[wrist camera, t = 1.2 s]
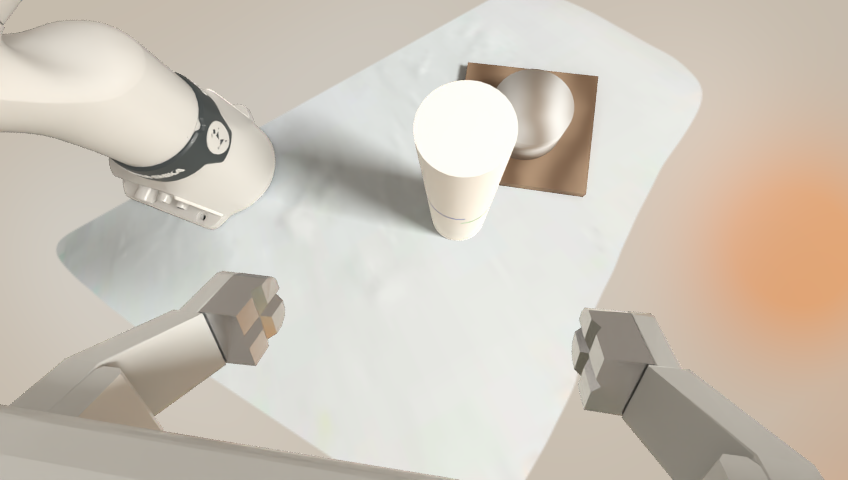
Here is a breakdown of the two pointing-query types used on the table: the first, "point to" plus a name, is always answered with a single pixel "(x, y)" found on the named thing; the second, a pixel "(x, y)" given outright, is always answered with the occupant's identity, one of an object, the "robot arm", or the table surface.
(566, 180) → the base
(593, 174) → the table surface
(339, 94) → the table surface
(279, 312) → the robot arm
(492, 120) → the cylindrical container
